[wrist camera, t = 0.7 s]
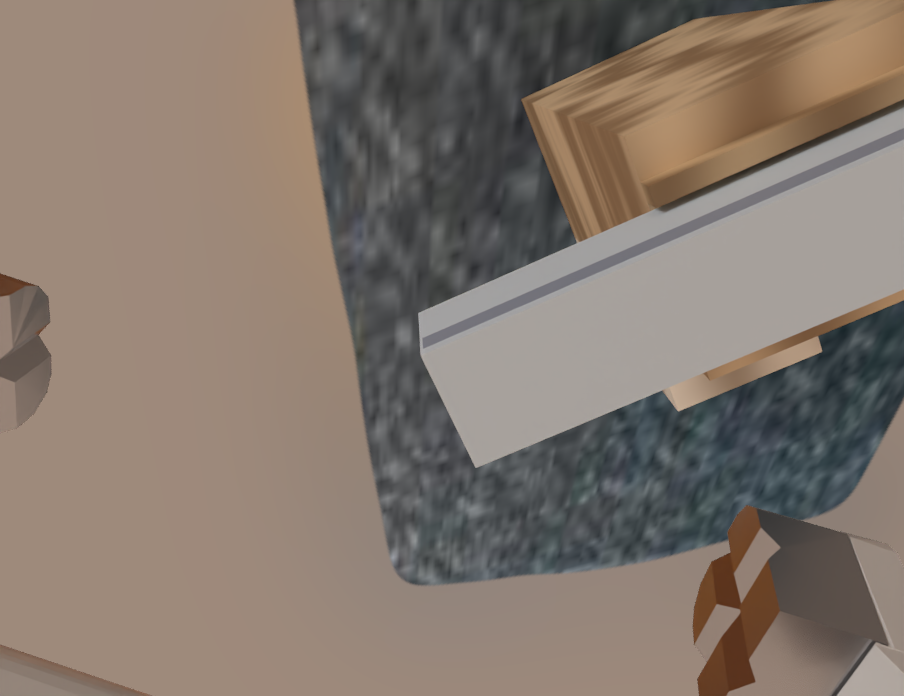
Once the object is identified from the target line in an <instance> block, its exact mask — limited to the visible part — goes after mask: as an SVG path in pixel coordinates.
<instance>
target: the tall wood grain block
mask: <svg viewBox="0 0 904 696" xmlns="http://www.w3.org/2000/svg"><path fill="white" fill-rule="evenodd" d="M521 100H522V103H523V106H524V108H525V111H526V113H527V116H528V118H529V121H530V123H531V126H532V129H533V131H534V134H535V136H536V139H537V141H538V144H539V146H540V149H541V152H542V154H543V157H544V159H545V162H546V164H547V167H548V169H549V172H550V175H551V177H552V180H553V182H554V185H555V187H556V190H557V193H558V195H559V198H560V200H561V203H562V205H563V208H564V210H565V213H566V216H567V218H568V221H569V223H570V226H571V228H572V231H573V233H574V236H575V239H576V241H577V243H579V242H581V241H584V240H586V239H588V238H590V237H593V236H595V235H597V234H599V233H602V232H604V231H606V230H609V229H611V228H613V227H615V226H618V225H620V224H622V223H624V222H627V221H629V220H631V219H634V218H636V217H638V216H640V215H643V214H645V213H647V212H649V211H652V210H654V209H656V208H659V207H661V206H663V205H665V204H668V203H670V202H672V201H674V200H677V199H679V198H681V197H684V196H686V195H688V194H690V193H693V192H695V191H697V190H699V189H702V188H704V187H706V186H709V185H711V184H713V183H715V182H718V181H720V180H722V179H724V178H727V177H729V176H731V175H733V174H736V173H738V172H740V171H743V170H745V169H747V168H749V167H752V166H754V165H756V164H758V163H761V162H763V161H765V160H768V159H770V158H772V157H774V156H777V155H779V154H781V153H783V152H786V151H788V150H790V149H793V148H795V147H797V146H799V145H802V144H804V143H806V142H808V141H811V140H813V139H815V138H818V137H820V136H822V135H824V134H827V133H829V132H831V131H833V130H836V129H838V128H840V127H843V126H845V125H847V124H849V123H852V122H854V121H856V120H858V119H861V118H863V117H865V116H868V115H870V114H872V113H874V112H877V111H879V110H881V109H883V108H886V107H888V106H890V105H893V104H895V103H897V102H899V101H902V100H904V0H835V1H827V2H820V3H812V4H804V5H797V6H789V7H782V8H774V9H767V10H759V11H752V12H744V13H737V14H729V15H722V16H714V17H707V18H699V19H694V20H692V21H690V22H687V23H685V24H683V25H681V26H679V27H677V28H674V29H672V30H670V31H668V32H666V33H664V34H661V35H659V36H657V37H655V38H653V39H651V40H648V41H646V42H644V43H642V44H640V45H638V46H635V47H633V48H631V49H629V50H627V51H625V52H622V53H620V54H618V55H616V56H614V57H612V58H609V59H607V60H605V61H603V62H601V63H599V64H596V65H594V66H592V67H590V68H588V69H586V70H583V71H581V72H579V73H577V74H575V75H573V76H570V77H568V78H566V79H564V80H562V81H560V82H557V83H555V84H553V85H551V86H549V87H546V88H544V89H542V90H540V91H538V92H536V93H533V94H531V95H529V96H527V97H525V98H523V99H521ZM903 300H904V290H901V291H899V292H896V293H894V294H892V295H889V296H887V297H884V298H882V299H880V300H877V301H875V302H872V303H870V304H868V305H865V306H863V307H860V308H858V309H856V310H853V311H851V312H848V313H846V314H844V315H841V316H839V317H836V318H834V319H832V320H829V321H827V322H824V323H822V324H820V325H817V326H815V327H812V328H810V329H808V330H805V331H803V332H801V333H798V334H796V335H793V336H791V337H789V338H786V339H784V340H781V341H779V342H777V343H774V344H772V345H769V346H767V347H765V348H762V349H760V350H757V351H755V352H753V353H750V354H748V355H745V356H743V357H741V358H738V359H736V360H733V361H731V362H729V363H726V364H724V365H721V366H719V367H717V368H714V369H712V370H709V371H707V372H705V373H702V374H700V375H697V376H695V377H693V378H690V379H688V380H685V381H683V382H681V383H678V384H676V385H673V386H671V387H669V388H666V389H664V390H662V391H663V392H664V393H665V395H666V396H667V397H668V399H669V400H670V401H671V403H672V404H673V405H674V406H675V408H676V409H677V410H678V411H680V410H683V409H685V408H688V407H690V406H692V405H695V404H697V403H700V402H702V401H704V400H707V399H709V398H712V397H714V396H717V395H719V394H721V393H724V392H726V391H729V390H731V389H733V388H736V387H738V386H741V385H743V384H746V383H748V382H750V381H753V380H755V379H758V378H760V377H762V376H765V375H767V374H770V373H772V372H775V371H777V370H779V369H782V368H784V367H787V366H789V365H791V364H794V363H796V362H799V361H801V360H804V359H806V358H808V357H811V356H813V355H816V354H818V353H820V352H822V349H821V345H820V342H819V338H818V336H819V335H821V334H824V333H826V332H829V331H831V330H833V329H836V328H838V327H841V326H843V325H845V324H848V323H850V322H853V321H855V320H857V319H860V318H862V317H865V316H867V315H869V314H872V313H874V312H877V311H879V310H881V309H884V308H886V307H889V306H891V305H893V304H896V303H898V302H901V301H903Z"/></svg>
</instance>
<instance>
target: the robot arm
mask: <svg viewBox="0 0 904 696" xmlns="http://www.w3.org/2000/svg"><path fill="white" fill-rule="evenodd" d="M49 323H50V312H49V299H48V296H47V295H46V294H45V293H44V292H43V291H42V289H41V288H40V287H39V286H37V285H34V284H31V283H28V282H24V281H22V280H19V279H15V278H12V277H10V276H6V275H3V274H0V433H2V432H6V431H10V430H13V429H17V428H18V427H19V426H21V425H22V424H23V423H24V422H25V421H26V420H28V419H29V418H30V417H31V416H32V415H33V414H34V413H35V411H36V410H37V408H38V407H39V405H40V403H41V402H42V400H43V398H44V397H45V395H46V393H47V390H48V386H49V381H50V377H51V354H50V353H49V351H48V349H47V348H46V346H45V345H44V343H43V341H42V340H41V338H40V337H39V334H40V333H41V331H42V330H43V329H44V328H45V327H46V326H47V325H48V324H49ZM727 533H728V539H729V545H730V553H728V554H726V555H724V556H722V557H720V558H718V559H716V560H714V561H712V562H711V564H710V566H709V568H708V570H707V572H706V574H705V576H704V578H703V580H702V582H701V584H700V587H699V591H698V595H697V599H696V602H695V606H694V616H693V637H694V645H695V647H696V648H697V649H698V651H699V652H700V653H701V655H702V656H703V658H704V659H705V660H706V662H707V663H706V665H705V667H704V668H703V670H702V672H701V673H700V675H699V677H698V679H697V681H698V691H699V696H904V567H903V565H902V563H901V560H900V558H899V556H898V554H897V552H896V551H895V550H894V549H892V548H891V547H890V546H889V545H888V544H886V543H882V542H878V541H874V540H871V539H867V538H863V537H860V536H856V535H852V534H849V533H845V532H841V531H840V532H839V531H835V530H831V529H828V528H824V527H821V526H818V525H814V524H811V523H807V522H804V521H800V520H797V519H793V518H790V517H787V516H783V515H780V514H776V513H773V512H769V511H766V510H762V509H759V508H755V507H752V506H748V505H746V506H745V507H744V508H743V509H742V510H741V511H740V512H739V513H738V514H737V516H736V518H735V519H734V521H733V523H732V525H731V527H730V528H729V530H728V532H727ZM0 696H151V695H148V694H146V693H142V692H140V691H136V690H134V689H131V688H128V687H125V686H122V685H119V684H116V683H113V682H110V681H107V680H104V679H101V678H98V677H95V676H92V675H89V674H86V673H83V672H80V671H77V670H74V669H71V668H68V667H65V666H63V665H59V664H57V663H54V662H51V661H48V660H45V659H42V658H39V657H36V656H33V655H30V654H27V653H24V652H21V651H18V650H15V649H12V648H9V647H6V646H3V645H0Z"/></svg>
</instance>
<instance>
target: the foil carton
mask: <svg viewBox="0 0 904 696" xmlns="http://www.w3.org/2000/svg"><path fill="white" fill-rule="evenodd" d="M901 290H904V100H902V101H899V102H897V103H895V104H893V105H890V106H888V107H886V108H883V109H881V110H879V111H877V112H874V113H872V114H870V115H868V116H865V117H863V118H861V119H858V120H856V121H854V122H852V123H849V124H847V125H845V126H843V127H840V128H838V129H836V130H833V131H831V132H829V133H827V134H824V135H822V136H820V137H818V138H815V139H813V140H811V141H808V142H806V143H804V144H802V145H799V146H797V147H795V148H793V149H790V150H788V151H786V152H783V153H781V154H779V155H777V156H774V157H772V158H770V159H768V160H765V161H763V162H761V163H758V164H756V165H754V166H752V167H749V168H747V169H745V170H743V171H740V172H738V173H736V174H733V175H731V176H729V177H727V178H724V179H722V180H720V181H718V182H715V183H713V184H711V185H709V186H706V187H704V188H702V189H699V190H697V191H695V192H693V193H690V194H688V195H686V196H684V197H681V198H679V199H677V200H674V201H672V202H670V203H668V204H665V205H663V206H661V207H659V208H656V209H654V210H652V211H649V212H647V213H645V214H643V215H640V216H638V217H636V218H634V219H631V220H629V221H627V222H624V223H622V224H620V225H618V226H615V227H613V228H611V229H609V230H606V231H604V232H602V233H599V234H597V235H595V236H593V237H590V238H588V239H586V240H584V241H581V242H579V243H577V244H574V245H572V246H570V247H568V248H565V249H563V250H561V251H559V252H556V253H554V254H552V255H549V256H547V257H545V258H543V259H540V260H538V261H536V262H534V263H531V264H529V265H527V266H524V267H522V268H520V269H518V270H515V271H513V272H511V273H509V274H506V275H504V276H502V277H499V278H497V279H495V280H493V281H490V282H488V283H486V284H484V285H481V286H479V287H477V288H474V289H472V290H470V291H468V292H465V293H463V294H461V295H459V296H456V297H454V298H452V299H449V300H447V301H445V302H443V303H440V304H438V305H436V306H434V307H431V308H429V309H427V310H424V311H422V312H420V313H419V333H420V353H421V357H422V359H423V361H424V364H425V366H426V368H427V370H428V372H429V374H430V376H431V378H432V380H433V382H434V384H435V386H436V388H437V390H438V392H439V394H440V396H441V398H442V400H443V402H444V404H445V406H446V408H447V410H448V412H449V414H450V416H451V419H452V421H453V423H454V425H455V427H456V429H457V431H458V433H459V435H460V437H461V439H462V441H463V443H464V445H465V447H466V449H467V451H468V453H469V455H470V457H471V459H472V461H473V463H474V465H475V467H476V468H477V467H479V466H482V465H484V464H487V463H489V462H491V461H494V460H496V459H499V458H501V457H503V456H506V455H508V454H511V453H513V452H515V451H518V450H520V449H523V448H525V447H527V446H530V445H532V444H535V443H537V442H539V441H542V440H544V439H546V438H549V437H551V436H554V435H556V434H558V433H561V432H563V431H566V430H568V429H570V428H573V427H575V426H578V425H580V424H582V423H585V422H587V421H590V420H592V419H594V418H597V417H599V416H602V415H604V414H606V413H609V412H611V411H614V410H616V409H618V408H621V407H623V406H626V405H628V404H630V403H633V402H635V401H638V400H640V399H642V398H645V397H647V396H650V395H652V394H654V393H657V392H659V391H662V390H664V389H666V388H669V387H671V386H673V385H676V384H678V383H681V382H683V381H685V380H688V379H690V378H693V377H695V376H697V375H700V374H702V373H705V372H707V371H709V370H712V369H714V368H717V367H719V366H721V365H724V364H726V363H729V362H731V361H733V360H736V359H738V358H741V357H743V356H745V355H748V354H750V353H753V352H755V351H757V350H760V349H762V348H765V347H767V346H769V345H772V344H774V343H777V342H779V341H781V340H784V339H786V338H789V337H791V336H793V335H796V334H798V333H801V332H803V331H805V330H808V329H810V328H812V327H815V326H817V325H820V324H822V323H824V322H827V321H829V320H832V319H834V318H836V317H839V316H841V315H844V314H846V313H848V312H851V311H853V310H856V309H858V308H860V307H863V306H865V305H868V304H870V303H872V302H875V301H877V300H880V299H882V298H884V297H887V296H889V295H892V294H894V293H896V292H899V291H901Z"/></svg>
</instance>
